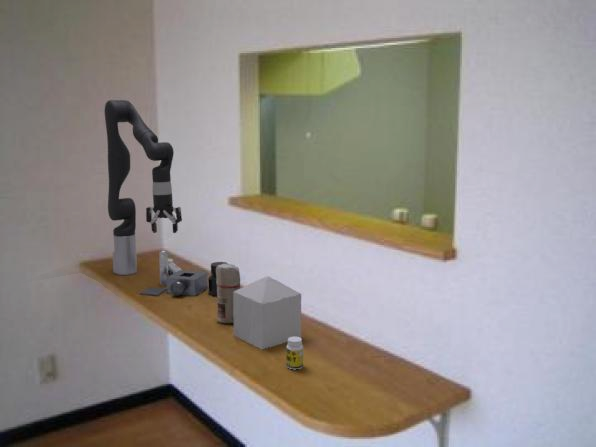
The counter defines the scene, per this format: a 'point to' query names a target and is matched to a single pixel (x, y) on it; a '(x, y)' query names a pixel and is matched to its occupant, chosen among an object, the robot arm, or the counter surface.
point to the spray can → (226, 291)
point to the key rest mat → (153, 291)
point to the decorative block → (266, 313)
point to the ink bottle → (214, 278)
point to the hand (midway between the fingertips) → (164, 232)
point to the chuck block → (187, 282)
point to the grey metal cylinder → (163, 267)
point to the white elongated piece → (172, 267)
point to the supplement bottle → (294, 353)
